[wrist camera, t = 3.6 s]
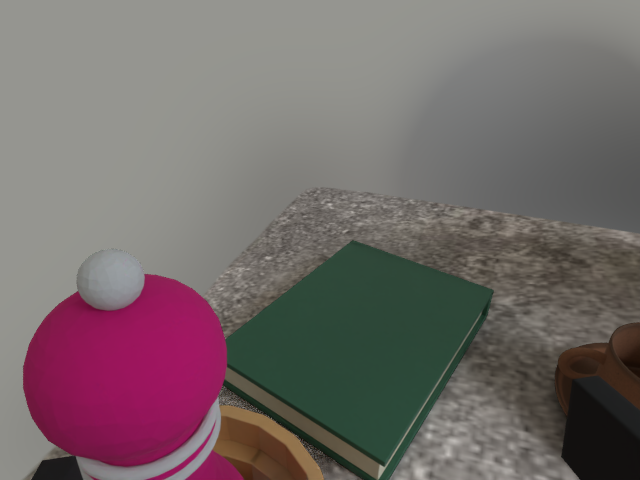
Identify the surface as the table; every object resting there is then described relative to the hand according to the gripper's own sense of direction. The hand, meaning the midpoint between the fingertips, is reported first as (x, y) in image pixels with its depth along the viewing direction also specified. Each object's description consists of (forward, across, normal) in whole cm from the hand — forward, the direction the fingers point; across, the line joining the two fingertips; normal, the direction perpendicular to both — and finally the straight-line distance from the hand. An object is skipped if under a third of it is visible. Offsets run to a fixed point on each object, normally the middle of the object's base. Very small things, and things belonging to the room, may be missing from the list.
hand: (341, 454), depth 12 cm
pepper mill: (+7, -7, -14) cm, 18 cm away
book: (+23, +5, -12) cm, 26 cm away
